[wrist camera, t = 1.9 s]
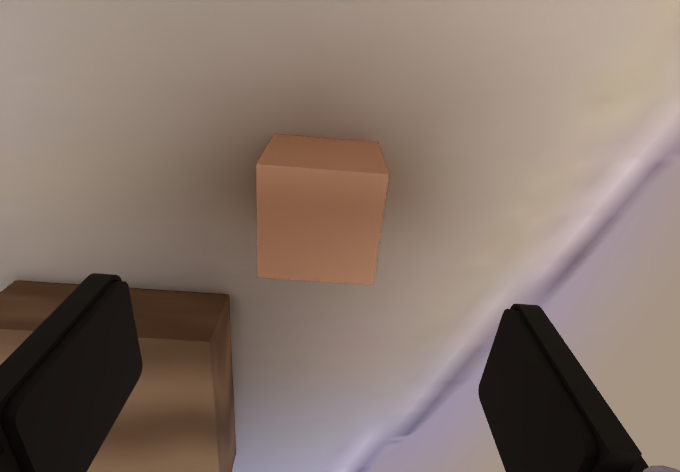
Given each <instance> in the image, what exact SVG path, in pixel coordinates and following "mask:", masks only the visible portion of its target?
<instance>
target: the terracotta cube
mask: <svg viewBox="0 0 680 472" xmlns="http://www.w3.org/2000/svg"><path fill="white" fill-rule="evenodd" d="M388 179H389V173H388V170H387V167H386V164H385V161H384V158H383V155H382V152H381V150H380V147H379V144H378V142H367V141H354V140H342V139H329V138H317V137H304V136H292V135H279V134H274V136H273V137H272V139H271V140H270V142H269V144H268V145H267V147H266V149H265V150H264V152H263V154H262V155H261V157H260V159H259V160H258V162H257V164H256V198H257V278H270V279H285V280H300V281H315V282H330V283H345V284H360V285H374V279H375V272H376V265H377V258H378V251H379V244H380V237H381V229H382V222H383V215H384V208H385V201H386V194H387V186H388Z"/></svg>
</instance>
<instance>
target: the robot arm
mask: <svg viewBox="0 0 680 472" xmlns="http://www.w3.org/2000/svg"><path fill="white" fill-rule="evenodd" d="M142 367H143V363H142V357H141V352H140V346H139V341H138V335H137V330H136V325H135V319H134V314H133V308H132V303H131V297H130V292H129V287H128V284H127V283H126V282H123V281H122V280H121V278H120V277H119V276H118V275H109V274H95V273H94V274H91V275H89V276H88V277H87V278H86V279H85V280H84V281H83V282H82V283H81V284H80V285H79V286H78V287H77V288H76V289H75V290H74V291H73V292H72V293H71V294H70V295H69V296H68V297H67V298H66V299H65V300H64V301H63V302H62V303H61V304H60V305H59V306H58V307H57V308H56V309H55V310H54V311H53V312H52V313H51V314H50V315H49V316H48V317H47V318H46V319H45V320H44V321H43V322H42V323H41V324H40V325H39V326H38V327H37V328H36V330H35V331H34V332H33V333H32V334H31V335H30V336H29V337H28V338H27V339H26V340H25V341H24V342H23V343H22V344H21V345H20V346H19V347H18V348H17V349H16V350H15V351H14V352H13V353H12V354H11V355H10V356H9V357H8V358H7V359H6V360H5V361H4V362H3V363H2V364H1V365H0V472H87V470H88V469H89V467H90V465H91V463H92V462H93V460H94V458H95V456H96V455H97V453H98V451H99V449H100V447H101V446H102V444H103V442H104V440H105V439H106V437H107V435H108V433H109V431H110V430H111V428H112V426H113V424H114V423H115V421H116V419H117V417H118V416H119V414H120V412H121V410H122V408H123V407H124V405H125V403H126V401H127V400H128V398H129V396H130V394H131V393H132V391H133V389H134V387H135V385H136V384H137V382H138V380H139V378H140V376H141V373H142ZM479 398H480V402H481V404H482V407H483V410H484V413H485V415H486V418H487V421H488V424H489V426H490V429H491V432H492V435H493V438H494V440H495V443H496V446H497V449H498V451H499V454H500V457H501V460H502V462H503V465H504V468H505V471H506V472H680V471H679V470H677V469H674V468H670V467H666V466H650V467H648V465H647V464H646V462H645V461H644V459H643V458H642V456H641V454H642V453H641V452H640V451H639V449H638V448H637V446H636V445H635V443H634V442H633V440H632V439H631V437H630V436H629V434H628V433H627V432H626V430H625V429H624V427H623V426H622V424H621V423H620V421H619V420H618V419H617V417H616V416H615V414H614V413H613V411H612V410H611V408H610V407H609V406H608V404H607V403H606V402H605V400H604V398H603V397H602V395H601V394H600V392H599V391H598V390H597V388H596V387H595V385H594V384H593V382H592V381H591V379H590V378H589V377H588V375H587V374H586V372H585V371H584V369H583V368H582V366H581V365H580V363H579V362H578V361H577V359H576V358H575V356H574V355H573V353H572V352H571V350H570V349H569V348H568V346H567V345H566V344H565V342H564V340H563V339H562V338H561V336H560V335H559V333H558V332H557V330H556V329H555V327H554V326H553V324H552V323H551V322H550V320H549V319H548V317H547V316H546V314H545V313H544V311H543V310H542V309H541V308H540V306H537V305H526V304H513V305H512V306H511V308H510V309H506V310H505V311H504V313H503V315H502V318H501V321H500V324H499V327H498V330H497V333H496V336H495V339H494V342H493V345H492V348H491V351H490V354H489V357H488V360H487V363H486V366H485V369H484V372H483V375H482V378H481V381H480V384H479Z"/></svg>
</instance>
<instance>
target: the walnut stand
mask: <svg viewBox="0 0 680 472" xmlns="http://www.w3.org/2000/svg"><path fill="white" fill-rule="evenodd" d="M78 286H79V285H73V284H58V283H43V282H27V281H14V282H13V283H12V284H11V285H9V286H8V287H7V288H5V289H4V290H3V291H2V292H0V365H1V364H2V363H3V362H4V361H5V360H6V359H7V358H8V357H9V356H10V355H11V354H12V353H13V352H14V351H15V350H16V349H17V348H18V347H19V346H20V345H21V344H22V343H23V342H24V341H25V340H26V339H27V338H28V337H29V336H30V335H31V334H32V333H33V332H34V331H35V330H36V328H37V327H38V326H39V325H40V324H41V323H42V322H43V321H44V320H45V319H46V318H47V317H48V316H49V315H50V314H51V313H52V312H53V311H54V310H55V309H56V308H57V307H58V306H59V305H60V304H61V303H62V302H63V301H64V300H65V299H66V298H67V297H68V296H69V295H70V294H71V293H72V292H73V291H74V290H75V289H76V288H77V287H78ZM129 292H130V297H131V303H132V308H133V314H134V319H135V325H136V330H137V335H138V341H139V346H140V352H141V357H142V363H143V367H142V373H141V376H140V378H139V380H138V382H137V384H136V385H135V387H134V389H133V391H132V393H131V394H130V396H129V398H128V400H127V401H126V403H125V405H124V407H123V408H122V410H121V412H120V414H119V416H118V417H117V419H116V421H115V423H114V424H113V426H112V428H111V430H110V431H109V433H108V435H107V437H106V439H105V440H104V442H103V444H102V446H101V447H100V449H99V451H98V453H97V455H96V456H95V458H94V460H93V462H92V463H91V465H90V467H89V469H88V470H87V472H232V468H233V463H234V459H235V455H236V443H235V421H234V398H233V376H232V353H231V331H230V308H229V295H223V294H208V293H193V292H178V291H163V290H148V289H133V288H129Z"/></svg>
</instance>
